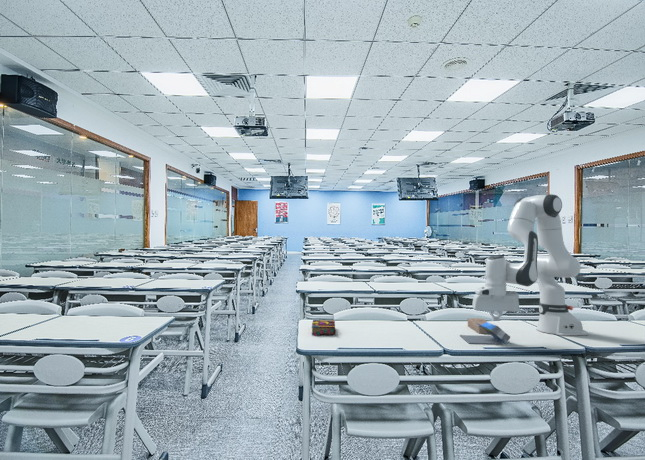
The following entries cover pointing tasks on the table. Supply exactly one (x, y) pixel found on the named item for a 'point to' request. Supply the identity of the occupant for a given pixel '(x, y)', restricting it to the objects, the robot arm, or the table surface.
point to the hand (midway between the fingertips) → (495, 320)
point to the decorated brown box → (323, 327)
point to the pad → (480, 339)
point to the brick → (475, 326)
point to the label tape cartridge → (495, 332)
